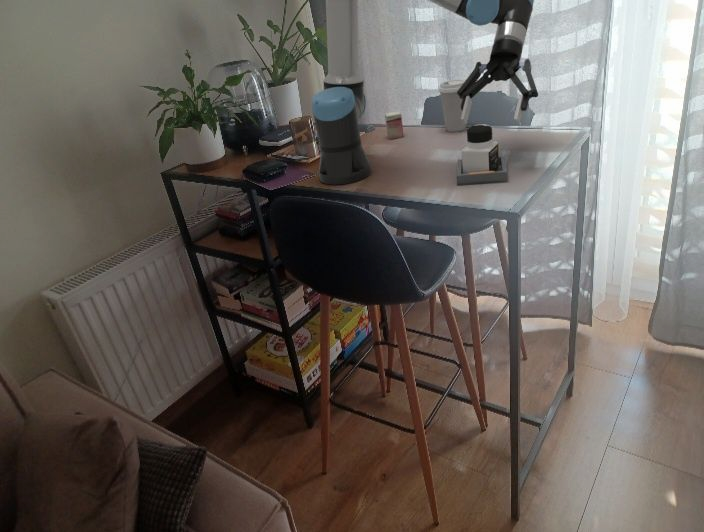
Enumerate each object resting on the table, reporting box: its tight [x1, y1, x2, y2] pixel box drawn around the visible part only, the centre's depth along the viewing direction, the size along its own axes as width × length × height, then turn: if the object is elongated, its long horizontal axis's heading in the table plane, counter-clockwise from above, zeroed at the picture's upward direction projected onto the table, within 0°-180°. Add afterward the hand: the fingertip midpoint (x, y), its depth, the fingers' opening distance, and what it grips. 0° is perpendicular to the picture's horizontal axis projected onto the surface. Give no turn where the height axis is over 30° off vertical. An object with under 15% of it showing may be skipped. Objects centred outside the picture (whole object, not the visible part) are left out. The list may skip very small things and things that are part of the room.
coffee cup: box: [438, 78, 467, 133], centre depth 169 cm, size 10×10×15 cm
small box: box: [384, 110, 405, 140], centre depth 174 cm, size 5×4×8 cm
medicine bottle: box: [461, 123, 500, 174], centre depth 131 cm, size 7×7×12 cm
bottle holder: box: [456, 155, 508, 186], centre depth 133 cm, size 12×12×3 cm
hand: (489, 122), depth 130 cm, fingers open, 13 cm apart
